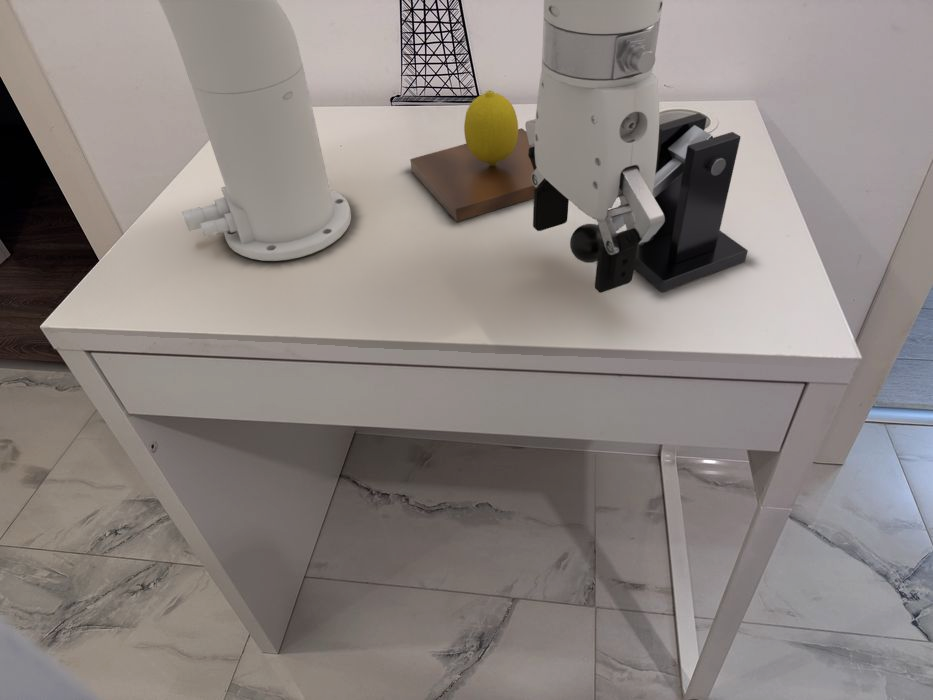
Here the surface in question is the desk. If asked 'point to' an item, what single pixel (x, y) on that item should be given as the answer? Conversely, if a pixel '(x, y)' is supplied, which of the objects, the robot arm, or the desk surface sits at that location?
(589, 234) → the lever
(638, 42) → the robot arm
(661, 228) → the lever stand
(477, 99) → the lemon
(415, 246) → the desk surface
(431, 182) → the board
